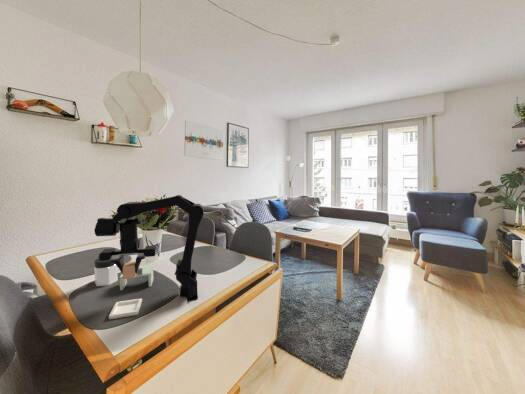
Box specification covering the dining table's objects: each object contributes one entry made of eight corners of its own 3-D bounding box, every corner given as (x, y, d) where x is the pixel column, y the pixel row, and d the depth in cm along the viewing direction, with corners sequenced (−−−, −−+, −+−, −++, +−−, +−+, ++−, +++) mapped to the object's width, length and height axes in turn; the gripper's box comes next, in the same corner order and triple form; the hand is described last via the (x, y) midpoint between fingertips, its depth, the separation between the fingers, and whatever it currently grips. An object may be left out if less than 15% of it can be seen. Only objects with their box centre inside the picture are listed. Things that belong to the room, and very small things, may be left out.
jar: (119, 284, 100) (118, 259, 99) (97, 291, 94) (96, 264, 93) (114, 278, 106) (113, 254, 105) (93, 283, 100) (92, 258, 99)
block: (137, 273, 88) (136, 261, 87) (134, 277, 84) (134, 265, 83) (125, 274, 86) (125, 262, 86) (123, 279, 83) (122, 266, 82)
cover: (153, 279, 103) (153, 262, 102) (151, 286, 96) (150, 268, 96) (124, 282, 99) (123, 265, 98) (120, 290, 92) (119, 271, 92)
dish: (142, 301, 85) (141, 298, 85) (137, 314, 77) (137, 311, 77) (116, 305, 82) (116, 302, 82) (109, 319, 74) (108, 315, 74)
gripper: (158, 228, 94) (158, 263, 96) (107, 231, 88) (109, 268, 90) (154, 235, 84) (155, 274, 85) (96, 239, 78) (99, 280, 79)
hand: (130, 273), depth 85 cm, fingers closed on block, 4 cm apart
